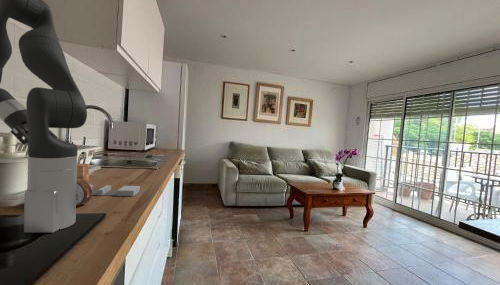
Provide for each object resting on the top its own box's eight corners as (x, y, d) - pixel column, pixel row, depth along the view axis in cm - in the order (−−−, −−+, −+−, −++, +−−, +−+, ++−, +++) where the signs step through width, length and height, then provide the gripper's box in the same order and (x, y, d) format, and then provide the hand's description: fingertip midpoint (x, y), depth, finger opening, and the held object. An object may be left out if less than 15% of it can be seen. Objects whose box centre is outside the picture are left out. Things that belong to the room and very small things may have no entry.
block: (82, 187, 84) (83, 165, 84) (70, 187, 83) (70, 165, 83) (88, 185, 88) (89, 163, 88) (76, 184, 87) (77, 163, 87)
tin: (92, 205, 74) (93, 178, 73) (84, 208, 71) (85, 180, 70) (49, 200, 75) (49, 174, 75) (39, 203, 72) (39, 176, 72)
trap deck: (133, 196, 85) (133, 189, 85) (65, 194, 82) (65, 188, 82) (139, 191, 92) (139, 185, 92) (76, 189, 89) (76, 183, 89)
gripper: (6, 106, 75) (46, 144, 77) (40, 110, 89) (72, 142, 91) (-13, 122, 74) (27, 160, 76) (24, 123, 88) (57, 155, 91)
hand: (51, 150), depth 84 cm, fingers open, 8 cm apart
